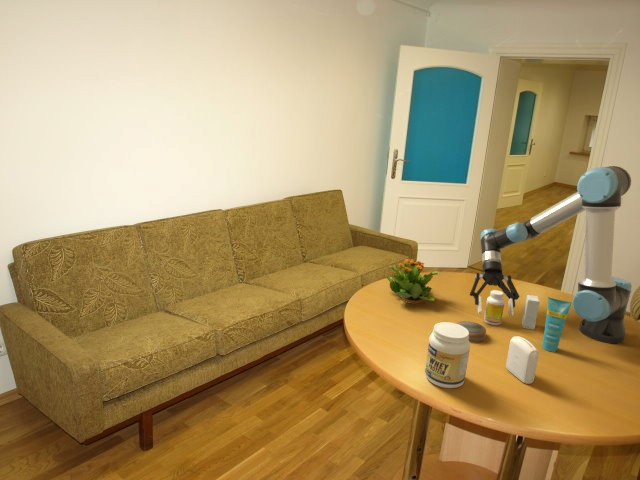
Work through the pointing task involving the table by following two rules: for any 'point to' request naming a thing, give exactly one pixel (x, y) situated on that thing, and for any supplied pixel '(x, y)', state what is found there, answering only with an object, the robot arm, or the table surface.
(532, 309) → the skincare box
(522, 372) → the photo printer
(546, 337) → the tube
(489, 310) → the supplement bottle
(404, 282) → the potted flower
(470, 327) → the walnut plinth
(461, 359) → the supplement tub
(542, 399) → the table surface
